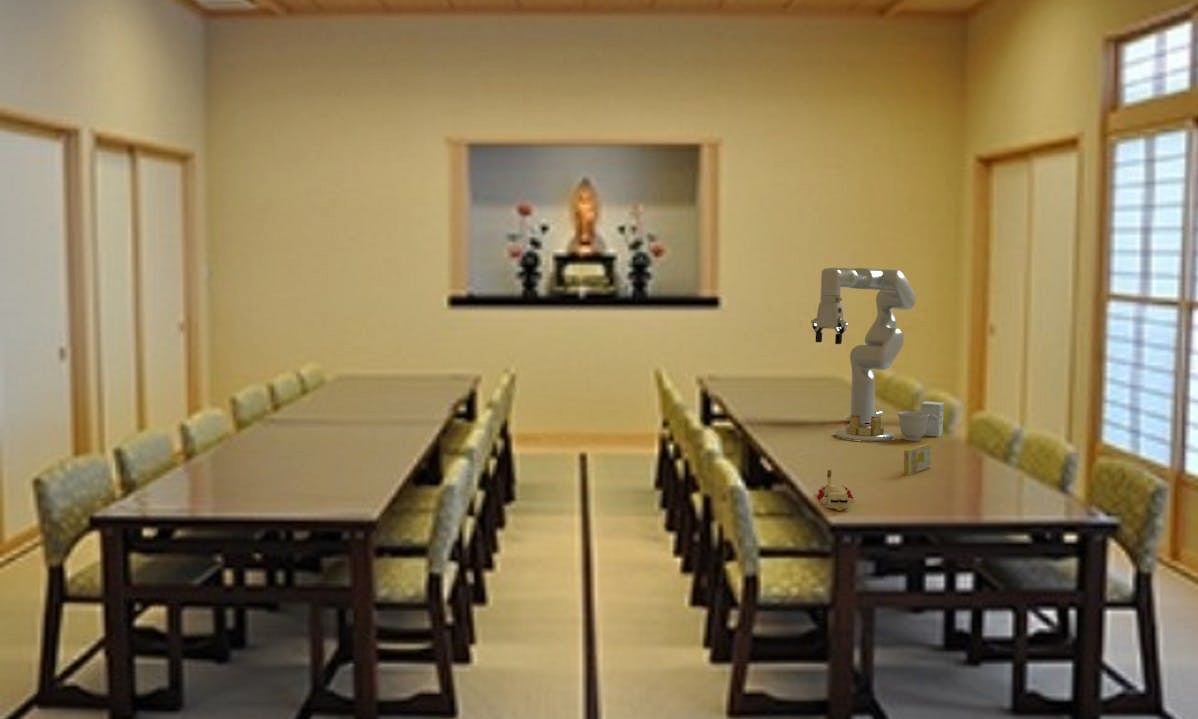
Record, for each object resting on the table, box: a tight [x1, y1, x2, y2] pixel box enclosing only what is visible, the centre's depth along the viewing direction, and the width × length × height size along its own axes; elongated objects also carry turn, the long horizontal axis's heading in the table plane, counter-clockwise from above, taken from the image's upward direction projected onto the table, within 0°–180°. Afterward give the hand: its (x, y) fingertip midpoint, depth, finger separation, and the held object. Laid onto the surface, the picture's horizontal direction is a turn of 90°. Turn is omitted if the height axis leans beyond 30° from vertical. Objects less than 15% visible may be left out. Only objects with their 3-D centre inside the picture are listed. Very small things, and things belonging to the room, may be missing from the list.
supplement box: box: [920, 400, 945, 438], centre depth 482 cm, size 7×7×13 cm
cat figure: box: [816, 469, 856, 511], centre depth 356 cm, size 10×9×25 cm
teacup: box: [897, 410, 938, 442], centre depth 469 cm, size 12×15×10 cm
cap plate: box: [835, 425, 896, 442], centre depth 475 cm, size 22×22×4 cm
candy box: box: [903, 443, 931, 476], centre depth 406 cm, size 16×2×8 cm, turn 141°
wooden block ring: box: [845, 414, 885, 436], centre depth 474 cm, size 14×14×6 cm
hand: (828, 343), depth 494 cm, fingers open, 9 cm apart
